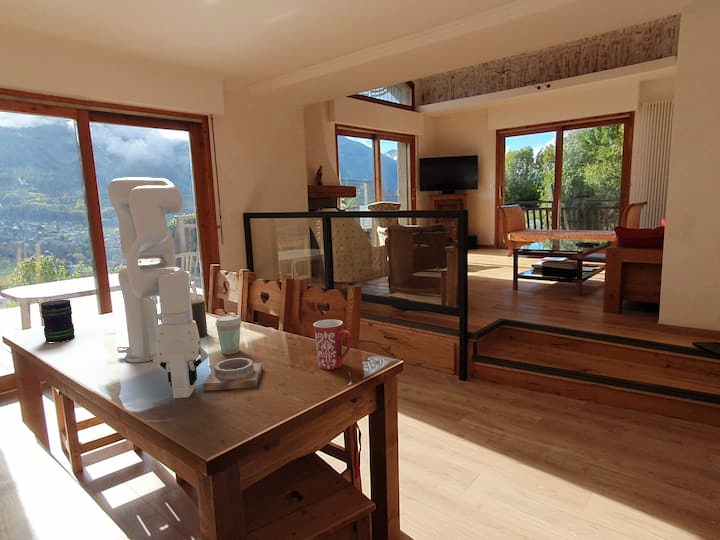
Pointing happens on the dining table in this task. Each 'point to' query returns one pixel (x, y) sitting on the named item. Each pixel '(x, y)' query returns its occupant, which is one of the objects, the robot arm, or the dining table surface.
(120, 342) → the dining table surface
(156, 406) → the dining table surface
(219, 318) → the coffee cup
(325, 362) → the mug
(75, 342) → the dining table surface
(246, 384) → the ring stand
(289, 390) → the dining table surface
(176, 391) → the skincare box
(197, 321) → the pillar candle
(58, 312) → the storage jar
